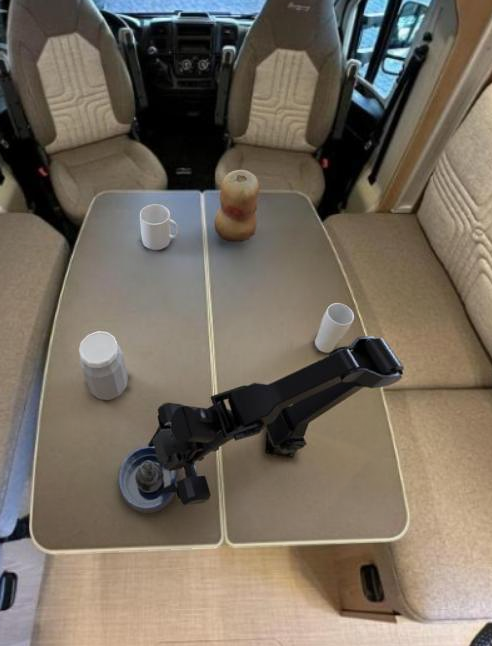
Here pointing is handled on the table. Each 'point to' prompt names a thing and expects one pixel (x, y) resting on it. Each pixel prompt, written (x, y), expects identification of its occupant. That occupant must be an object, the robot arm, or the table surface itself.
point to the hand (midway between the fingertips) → (154, 468)
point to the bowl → (131, 489)
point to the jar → (103, 365)
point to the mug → (156, 226)
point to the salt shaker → (149, 477)
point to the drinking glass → (333, 326)
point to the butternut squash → (237, 207)
